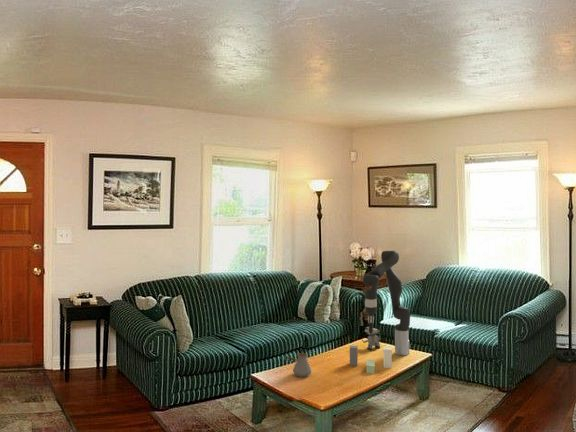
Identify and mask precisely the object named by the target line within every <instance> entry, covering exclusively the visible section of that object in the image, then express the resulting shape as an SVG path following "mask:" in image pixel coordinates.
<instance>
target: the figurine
mask: <svg viewBox="0 0 576 432" xmlns="http://www.w3.org/2000/svg"><path fill="white" fill-rule="evenodd" d="M364 332H365V333H368V334H369V335H368V336H367V339H366V340H363V339H361V341H362V343H363V344H365V343H367V350H368V351H373V347H375V348H377V349H381V346H380V345H381V344H380V341H381V335H376V334H379V333H380V332H381V331H380V329H378V328H375V327H373V332H369V326H366V327H365V329H364Z"/></svg>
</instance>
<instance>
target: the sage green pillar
mask: <svg viewBox="0 0 576 432" xmlns="http://www.w3.org/2000/svg"><path fill="white" fill-rule="evenodd" d="M375 364H376V363H375V360H374V359H366V374H372V375H373V374H375V369H376V367H375Z"/></svg>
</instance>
